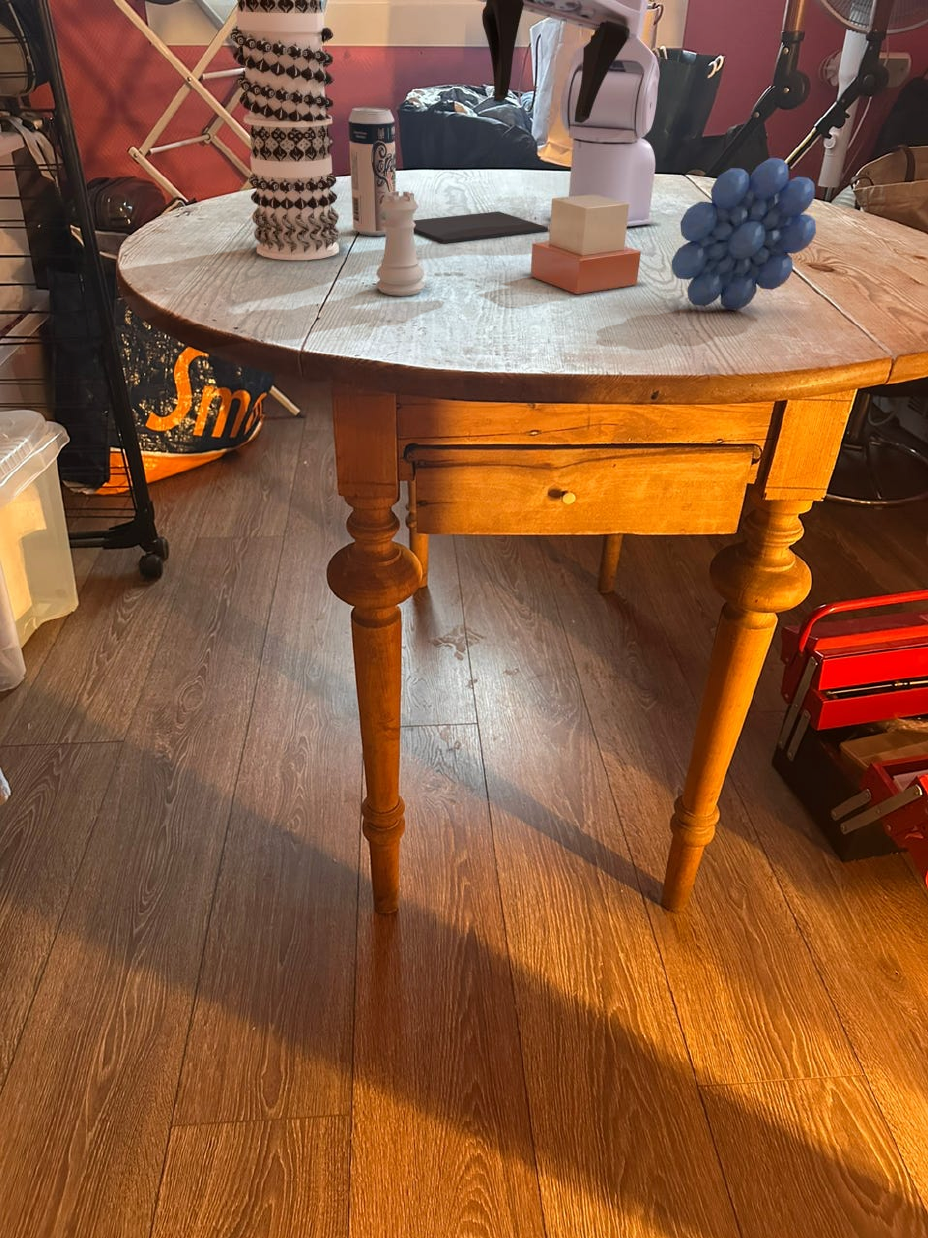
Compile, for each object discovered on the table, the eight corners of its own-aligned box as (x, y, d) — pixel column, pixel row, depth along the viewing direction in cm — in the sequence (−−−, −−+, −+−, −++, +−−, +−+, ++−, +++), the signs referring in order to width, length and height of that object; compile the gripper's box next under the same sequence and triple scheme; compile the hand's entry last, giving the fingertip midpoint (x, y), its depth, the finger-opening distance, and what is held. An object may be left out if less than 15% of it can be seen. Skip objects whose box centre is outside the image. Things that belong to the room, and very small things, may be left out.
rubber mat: (498, 214, 112) (498, 211, 112) (547, 230, 105) (548, 227, 105) (397, 225, 105) (397, 221, 105) (443, 243, 99) (443, 239, 98)
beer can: (390, 238, 100) (387, 112, 93) (347, 235, 101) (342, 110, 94) (401, 228, 104) (399, 108, 97) (360, 226, 105) (355, 105, 98)
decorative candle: (286, 236, 100) (263, -49, 85) (360, 246, 96) (348, -48, 82) (233, 253, 93) (199, -54, 79) (310, 265, 90) (288, -53, 75)
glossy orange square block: (588, 267, 91) (591, 235, 90) (637, 284, 86) (641, 251, 85) (530, 276, 88) (532, 242, 86) (576, 294, 83) (579, 259, 82)
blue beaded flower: (782, 297, 84) (813, 151, 77) (806, 319, 78) (842, 163, 72) (655, 294, 84) (675, 147, 77) (671, 316, 78) (694, 160, 71)
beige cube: (590, 238, 88) (594, 193, 86) (624, 249, 85) (629, 203, 83) (548, 244, 86) (551, 198, 84) (581, 255, 83) (586, 207, 80)
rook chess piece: (375, 283, 85) (372, 188, 80) (424, 283, 85) (423, 189, 81) (375, 296, 81) (372, 198, 77) (426, 296, 81) (426, 198, 77)
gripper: (501, -114, 73) (473, 75, 76) (667, -61, 76) (634, 117, 80) (479, -74, 79) (455, 98, 82) (633, -27, 83) (604, 136, 86)
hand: (541, 109), depth 81 cm, fingers open, 7 cm apart
